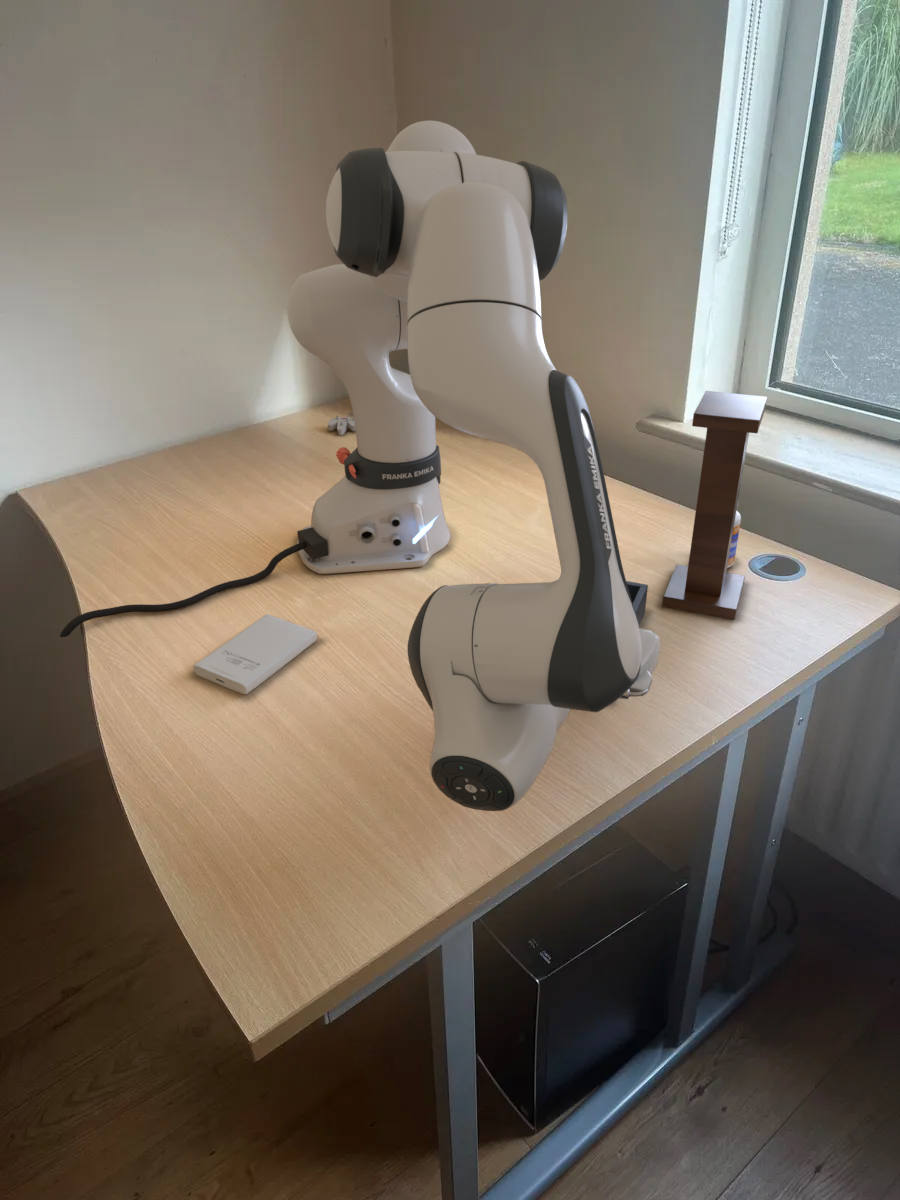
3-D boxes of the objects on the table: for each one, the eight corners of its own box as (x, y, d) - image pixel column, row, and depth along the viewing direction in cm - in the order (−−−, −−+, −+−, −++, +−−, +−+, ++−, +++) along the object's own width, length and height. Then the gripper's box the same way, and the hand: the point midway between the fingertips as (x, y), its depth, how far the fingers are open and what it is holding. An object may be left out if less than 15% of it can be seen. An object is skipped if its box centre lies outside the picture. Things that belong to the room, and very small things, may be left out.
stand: (733, 623, 106) (769, 421, 93) (660, 610, 109) (684, 412, 96) (743, 585, 114) (777, 393, 101) (674, 573, 117) (699, 385, 104)
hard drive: (317, 642, 105) (247, 696, 96) (267, 624, 109) (194, 674, 100) (316, 631, 104) (244, 684, 95) (265, 613, 108) (192, 663, 99)
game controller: (329, 436, 165) (328, 423, 163) (324, 417, 175) (323, 404, 173) (359, 433, 166) (358, 420, 164) (352, 414, 175) (351, 402, 174)
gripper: (648, 672, 75) (677, 596, 86) (433, 627, 82) (485, 562, 93) (641, 729, 78) (670, 648, 89) (435, 681, 85) (485, 611, 96)
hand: (574, 604), depth 91 cm, fingers open, 8 cm apart
